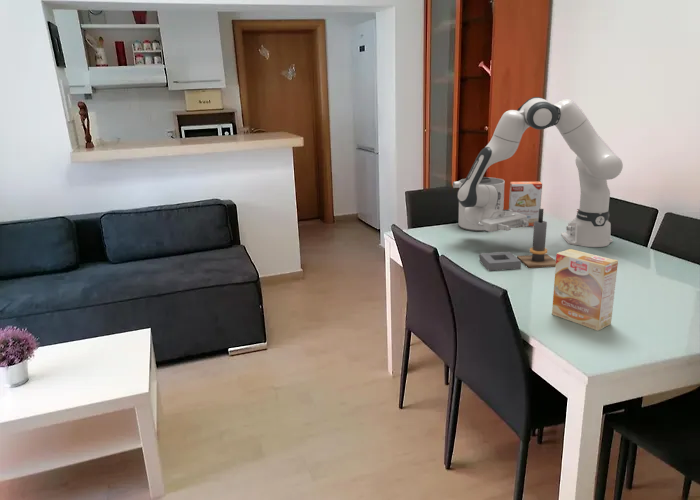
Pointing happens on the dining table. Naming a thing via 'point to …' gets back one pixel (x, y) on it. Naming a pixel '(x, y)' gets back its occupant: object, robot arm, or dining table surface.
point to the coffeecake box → (584, 288)
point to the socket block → (500, 261)
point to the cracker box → (526, 199)
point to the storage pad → (533, 264)
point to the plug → (539, 239)
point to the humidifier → (500, 205)
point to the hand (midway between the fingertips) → (518, 226)
